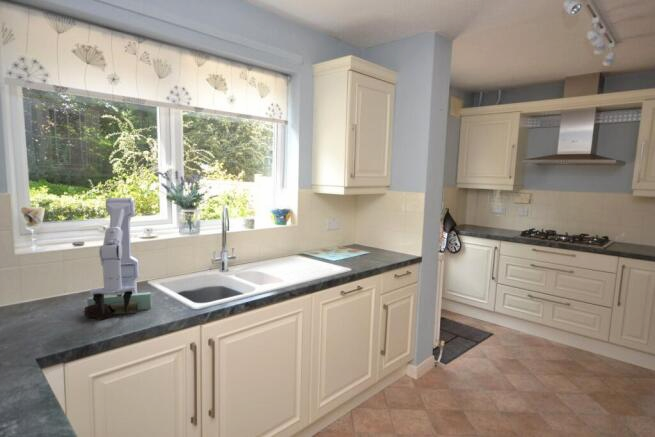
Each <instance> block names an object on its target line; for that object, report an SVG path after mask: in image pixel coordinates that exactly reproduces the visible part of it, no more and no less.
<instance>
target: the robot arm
mask: <svg viewBox="0 0 655 437" xmlns="http://www.w3.org/2000/svg"><path fill="white" fill-rule="evenodd" d="M105 210H106V213H107V215H109V216H110V219H109V220H110V221H109V227H108V228H107V229H106V230H105V234H104V239H103V244H102V245H101V246H100V247H99V259H100V260H99V261H100V264H101V266H102V276H103V278H102V279H103V287H100V288H91V289H90V290H89V297H93V300H94V301H95V302H96V304H97V305H98V307H99V309H100V312H101V315H102V314H104V313H105V308H104V296H105V295H115V294H116V295H117V294H118V293H123V294H124V295H123V298H124V311H125V312H127V311H128V305H129V301H130V298H131V296H132V294H135V293H138V285H137V284H138V282H137V279H138V278H139V277H140V272H141V271H140V264H139V263H140V262H139V260H138V258H136V257H134V256H132V249H131V248H132V246H131V245H132V240H131V219H132V218H134V217H135V216H136V203H135V199H134V197H107V198H106V200H105Z"/></svg>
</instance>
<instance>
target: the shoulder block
mask: <svg viewBox="0 0 655 437" xmlns="http://www.w3.org/2000/svg"><path fill="white" fill-rule="evenodd" d="M123 295H124V294H123V293H118V294H117V293H116V294H109V295H104V304H107V305H111V304H117V303H124V298H123ZM93 297H94V296H89V297H88V298H87V299H86V300H87V306H89V305H94V304H95V303H96V302H95V301H94V300H93ZM129 302H138V311H139V310H149V309H151V310H152V307H153V304H152V292H151V291H150V292H137V293H135V294H132V296H131V298H130V301H129Z"/></svg>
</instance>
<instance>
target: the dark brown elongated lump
mask: <svg viewBox="0 0 655 437" xmlns="http://www.w3.org/2000/svg"><path fill="white" fill-rule="evenodd" d="M104 308H105V313H104V314H102V315H101V312H100V309H99V307H98V305H97V304H96V303H95V304H94V305H89V306H88V305H87V306H85V308H84V311H83V312H84V316H85V317H88V318H94V319H96V320H104V319H108V318H109V317H111V316H112V315H122V314H136V313H138V311H139V310H138V302H129V305H128V311H127V312H125V311H124V303H117V304H111V305H107V304H104Z"/></svg>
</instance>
